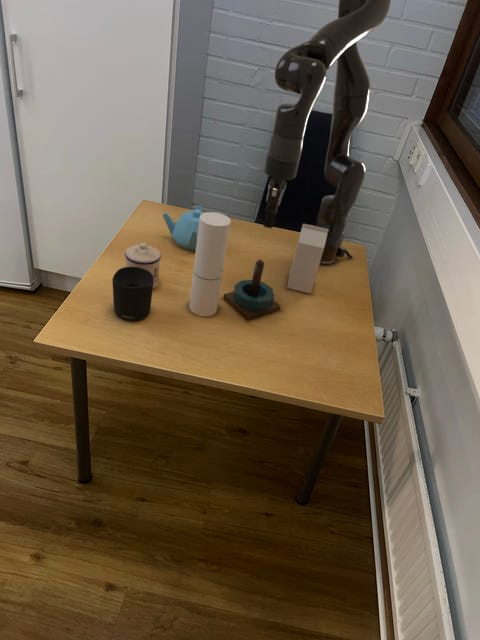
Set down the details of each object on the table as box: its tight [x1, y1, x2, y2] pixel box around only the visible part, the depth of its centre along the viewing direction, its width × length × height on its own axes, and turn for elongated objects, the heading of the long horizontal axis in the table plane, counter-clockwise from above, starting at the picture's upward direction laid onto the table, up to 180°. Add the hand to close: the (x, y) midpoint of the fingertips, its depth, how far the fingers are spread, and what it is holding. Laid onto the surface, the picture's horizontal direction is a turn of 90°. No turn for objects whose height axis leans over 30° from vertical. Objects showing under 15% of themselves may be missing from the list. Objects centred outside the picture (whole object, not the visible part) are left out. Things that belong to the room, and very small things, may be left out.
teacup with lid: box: [124, 242, 162, 289], centre depth 124 cm, size 12×9×12 cm
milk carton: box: [286, 223, 328, 294], centre depth 133 cm, size 7×7×19 cm
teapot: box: [162, 205, 204, 252], centre depth 146 cm, size 15×15×11 cm
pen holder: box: [111, 266, 154, 322], centre depth 112 cm, size 9×9×10 cm
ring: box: [232, 279, 275, 311], centre depth 125 cm, size 11×11×3 cm
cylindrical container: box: [189, 211, 232, 317], centre depth 114 cm, size 7×7×25 cm
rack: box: [223, 259, 281, 322], centre depth 122 cm, size 11×11×14 cm
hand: (270, 220), depth 116 cm, fingers open, 8 cm apart
